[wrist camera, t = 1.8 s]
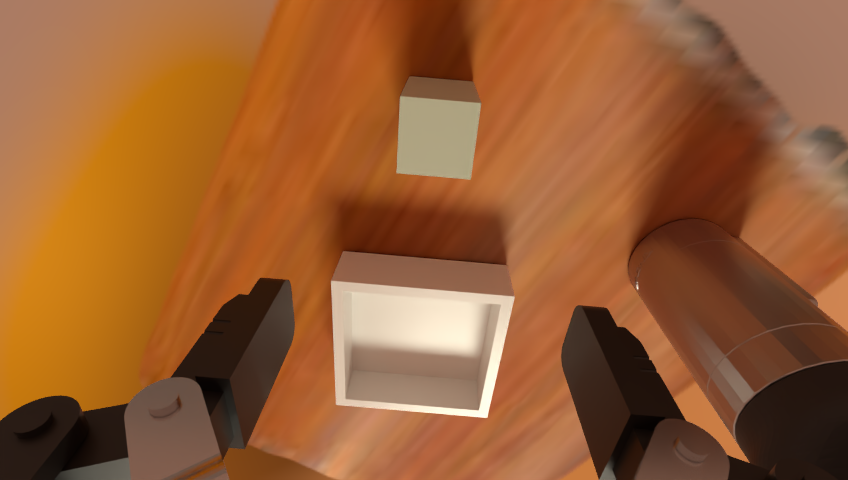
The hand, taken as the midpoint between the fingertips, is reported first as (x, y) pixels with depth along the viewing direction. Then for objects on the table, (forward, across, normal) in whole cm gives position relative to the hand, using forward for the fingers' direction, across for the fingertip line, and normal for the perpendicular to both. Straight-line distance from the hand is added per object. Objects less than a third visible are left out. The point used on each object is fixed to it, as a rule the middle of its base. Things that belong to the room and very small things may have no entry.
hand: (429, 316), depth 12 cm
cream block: (+26, 0, 0) cm, 26 cm away
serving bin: (+25, 0, +22) cm, 34 cm away
